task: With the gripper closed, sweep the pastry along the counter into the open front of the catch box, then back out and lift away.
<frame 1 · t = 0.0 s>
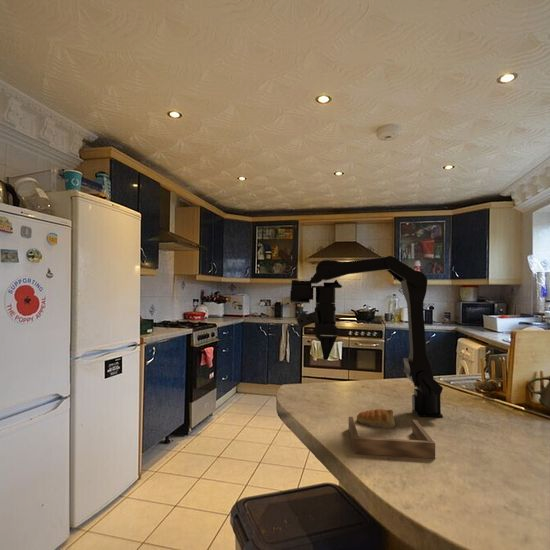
hand: (325, 357, 104), 15 cm above the countertop, fingers open, 9 cm apart
pastry: (378, 425, 91), on the countertop
catch box: (387, 441, 80), on the countertop
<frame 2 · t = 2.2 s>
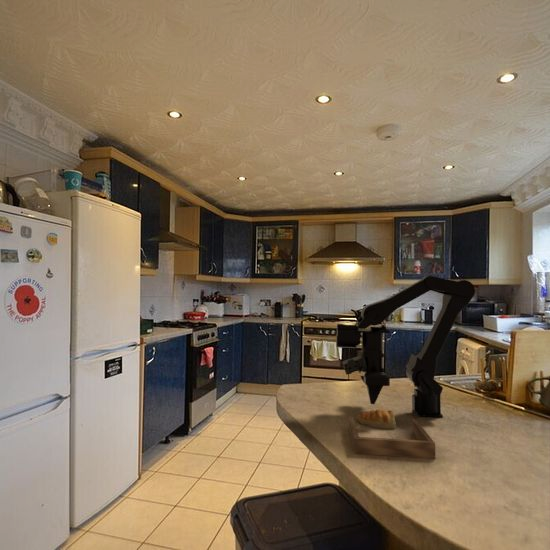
hand: (372, 403, 101), 2 cm above the countertop, fingers closed
nothing on the countertop moved.
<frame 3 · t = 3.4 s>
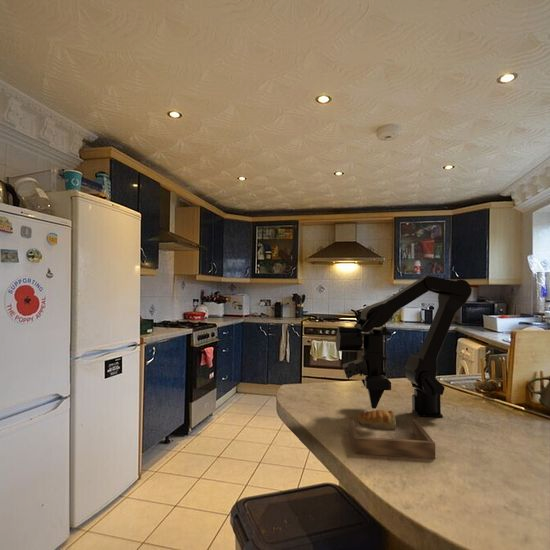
hand: (373, 408, 99), 2 cm above the countertop, fingers closed
nothing on the countertop moved.
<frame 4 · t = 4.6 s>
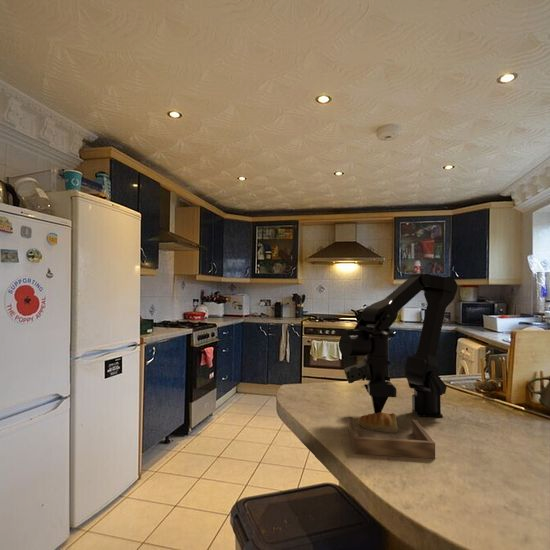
hand: (377, 415, 93), 2 cm above the countertop, fingers closed
pastry: (380, 429, 88), on the countertop, touching gripper
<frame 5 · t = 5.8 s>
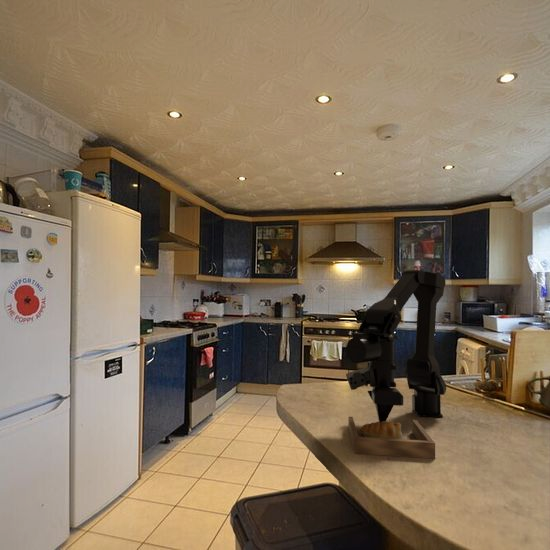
hand: (381, 424, 86), 2 cm above the countertop, fingers closed
pastry: (384, 439, 82), on the countertop
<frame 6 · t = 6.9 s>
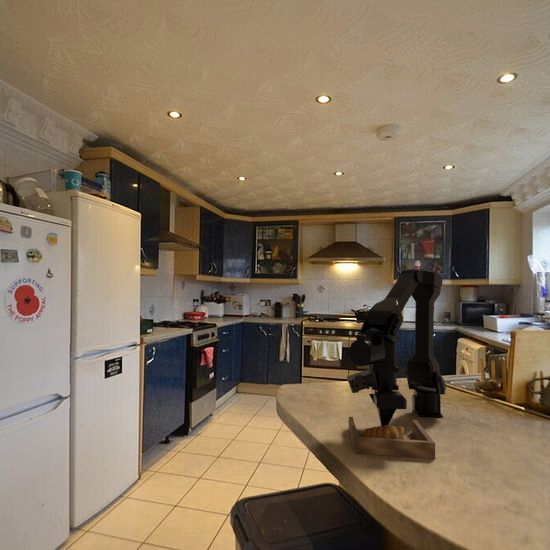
hand: (384, 428, 84), 2 cm above the countertop, fingers closed
pastry: (386, 444, 80), on the countertop
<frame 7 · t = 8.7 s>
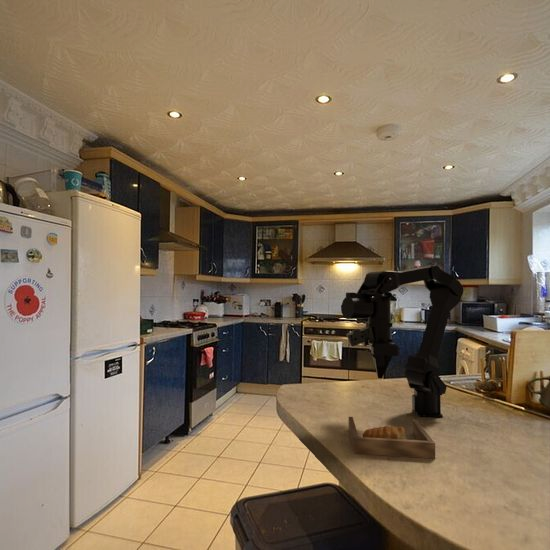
hand: (379, 378, 94), 11 cm above the countertop, fingers closed
nothing on the countertop moved.
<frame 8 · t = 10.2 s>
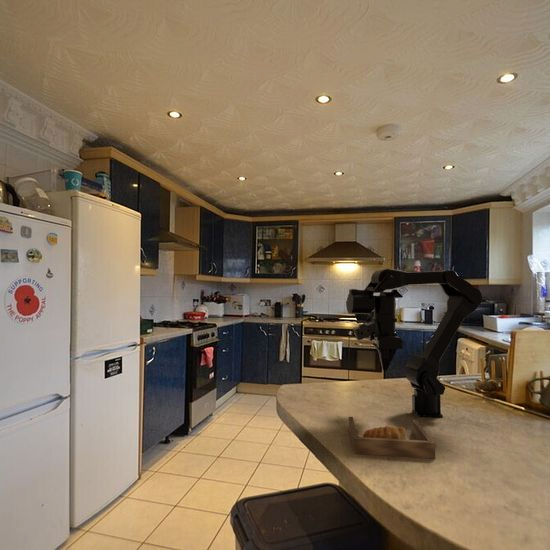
hand: (384, 370, 99), 12 cm above the countertop, fingers closed
nothing on the countertop moved.
at the end: pastry inside the target area (1.1 cm from its centre), on the countertop; pastry moved 12.8 cm from its start; the gripper is holding nothing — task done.
